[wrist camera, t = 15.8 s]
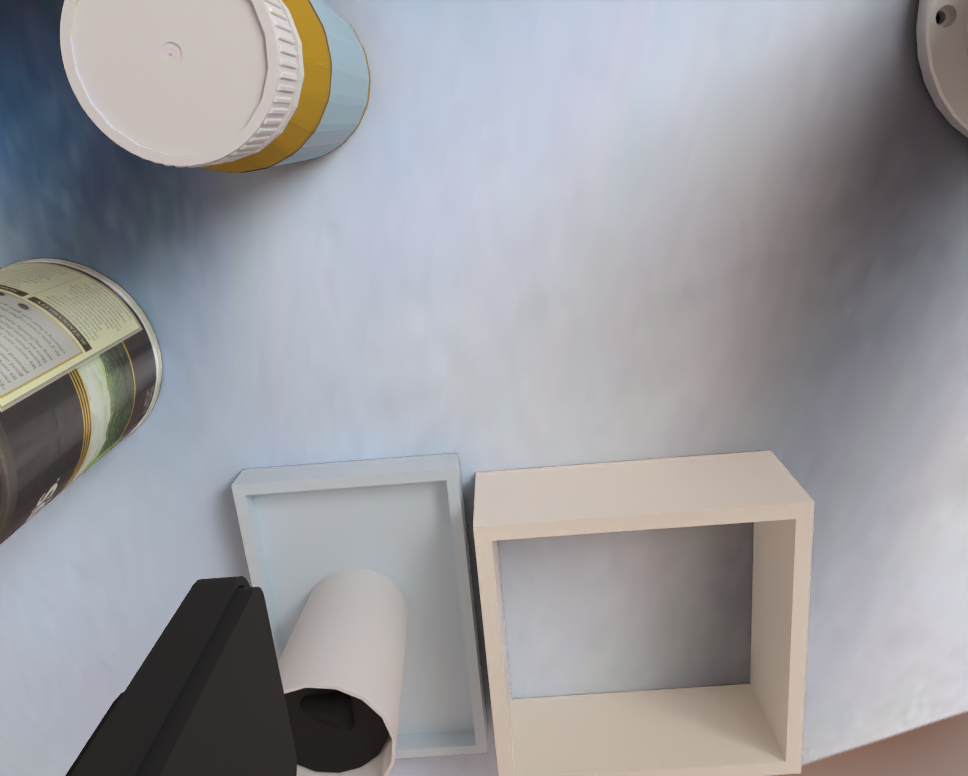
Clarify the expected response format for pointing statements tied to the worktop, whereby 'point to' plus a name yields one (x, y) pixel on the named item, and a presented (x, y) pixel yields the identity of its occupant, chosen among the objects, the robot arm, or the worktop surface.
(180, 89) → the bottle
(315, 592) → the white cup
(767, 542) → the open beige storage bin
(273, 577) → the tray
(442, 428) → the worktop surface
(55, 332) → the coffee can
